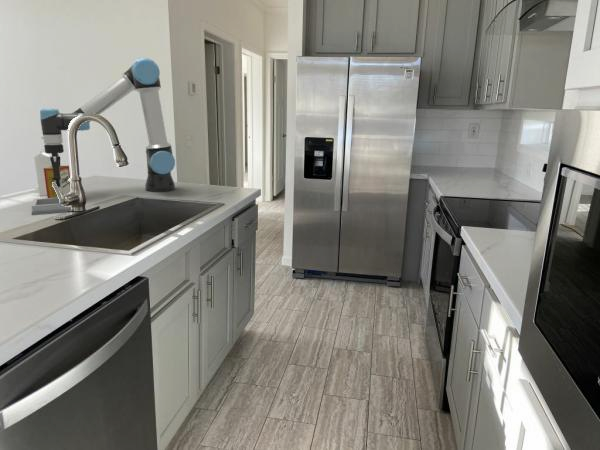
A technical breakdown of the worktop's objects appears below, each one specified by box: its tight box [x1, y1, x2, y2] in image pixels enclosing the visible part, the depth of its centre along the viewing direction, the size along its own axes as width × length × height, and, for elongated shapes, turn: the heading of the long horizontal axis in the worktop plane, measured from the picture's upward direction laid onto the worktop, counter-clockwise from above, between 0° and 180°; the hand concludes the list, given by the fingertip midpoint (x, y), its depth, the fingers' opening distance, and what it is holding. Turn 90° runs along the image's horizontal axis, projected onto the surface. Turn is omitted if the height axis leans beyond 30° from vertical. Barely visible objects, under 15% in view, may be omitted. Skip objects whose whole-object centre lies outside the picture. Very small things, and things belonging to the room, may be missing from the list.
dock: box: [31, 197, 71, 216], centre depth 191 cm, size 15×16×4 cm
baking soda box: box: [44, 165, 71, 198], centre depth 206 cm, size 10×6×16 cm
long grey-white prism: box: [33, 149, 52, 197], centre depth 217 cm, size 6×6×22 cm
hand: (59, 191), depth 207 cm, fingers closed on baking soda box, 11 cm apart
